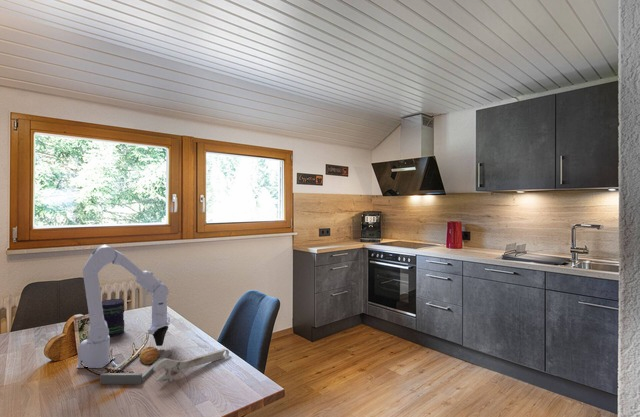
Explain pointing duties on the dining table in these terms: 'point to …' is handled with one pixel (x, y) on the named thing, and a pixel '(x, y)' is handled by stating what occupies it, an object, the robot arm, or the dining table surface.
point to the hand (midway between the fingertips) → (159, 345)
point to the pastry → (149, 355)
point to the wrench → (185, 364)
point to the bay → (129, 374)
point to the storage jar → (114, 316)
